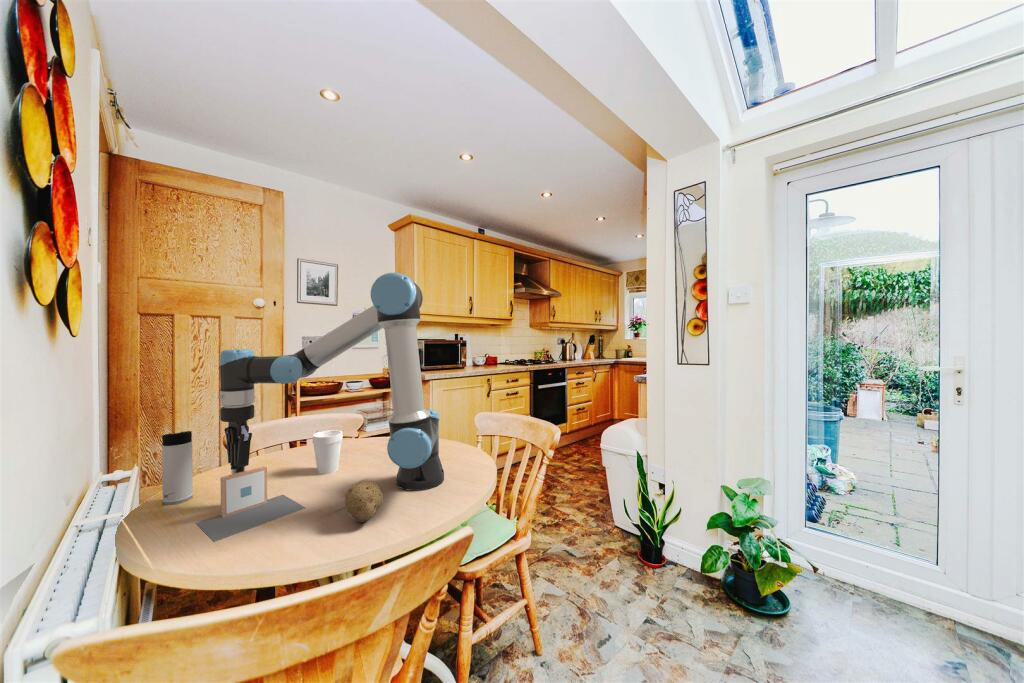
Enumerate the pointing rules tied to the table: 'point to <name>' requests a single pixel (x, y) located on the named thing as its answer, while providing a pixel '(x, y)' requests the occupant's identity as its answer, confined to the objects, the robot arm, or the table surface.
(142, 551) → the table surface
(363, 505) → the natural sponge
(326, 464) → the foam cup
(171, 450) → the travel mug
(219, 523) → the felt mat
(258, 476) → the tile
